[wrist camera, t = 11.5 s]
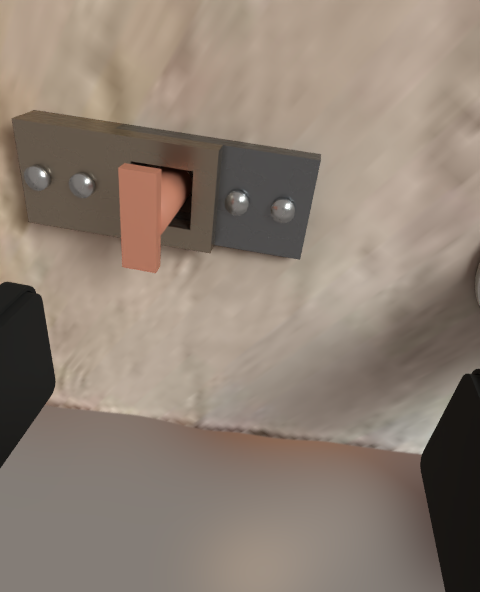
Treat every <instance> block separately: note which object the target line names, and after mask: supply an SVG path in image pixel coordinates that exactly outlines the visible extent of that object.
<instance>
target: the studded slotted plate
mask: <svg viewBox="0 0 480 592" xmlns="http://www.w3.org/2000/svg"><path fill="white" fill-rule="evenodd" d="M12 123H13V129H14V135H15V141H16V147H17V153H18V159H19V165H20V172H21V178H22V184H23V190H24V196H25V202H26V208H27V214H28V220H29V222H33V223H38V224H44V225H50V226H56V227H61V228H67V229H73V230H79V231H84V232H90V233H96V234H102V235H107V236H113V237H119V238H121V222H120V198H119V174H118V168H119V167H120V166H121V165H123V164H124V163H127V164H133V165H139V166H145V164H151V165H158V166H164V167H170V168H176V169H182V170H189V171H193V187H192V206H191V213H185V212H179V211H178V212H177V214H176V215H175V216H174V218H173V219H172V221H171V222H170V223H169V225H168V226H167V228H166V229H165V230H164V232H163V233H162V234H161V245H165V246H171V247H177V248H182V249H188V250H194V251H200V252H205V253H211V251H212V249H213V247H214V245H218V246H224V247H230V248H235V249H241V250H247V251H253V252H259V253H264V254H270V255H276V256H282V257H288V258H294V259H299V260H300V257H301V252H302V247H303V243H304V238H305V233H306V228H307V223H308V218H309V214H310V209H311V204H312V199H313V194H314V190H315V185H316V180H317V175H318V170H319V166H320V161H321V154H315V153H308V152H302V151H295V150H289V149H282V148H276V147H270V146H263V145H257V144H250V143H244V142H237V141H231V140H224V139H218V138H211V137H205V136H198V135H192V134H185V133H179V132H172V131H166V130H159V129H153V128H147V127H140V126H134V125H127V124H121V123H114V122H108V121H101V120H95V119H88V118H82V117H75V116H69V115H62V114H56V113H49V112H43V111H36V110H33V111H31V112H28V113H25V114H23V115H20V116H17V117H14V118H12Z"/></svg>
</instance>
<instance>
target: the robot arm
mask: <svg viewBox="0 0 480 592" xmlns="http://www.w3.org/2000/svg"><path fill="white" fill-rule="evenodd" d="M475 293H476V298H477V302H478V304H479V306H480V263H479V266H478V269H477V273H476V276H475ZM54 388H55V374H54V368H53V362H52V356H51V350H50V343H49V337H48V331H47V325H46V319H45V313H44V307H43V301H42V297H41V296H40V295H39V294H36V291H35V289H34V288H33V287H31V286H28V285H23V284H17V283H12V282H4V283H2V284H0V468H1V466H2V465H3V464H4V462H5V461H6V459H7V458H8V457H9V455H10V454H11V452H12V451H13V449H14V448H15V447H16V445H17V444H18V442H19V441H20V439H21V438H22V437H23V435H24V434H25V432H26V431H27V429H28V428H29V427H30V425H31V424H32V422H33V421H34V419H35V418H36V417H37V415H38V414H39V412H40V411H41V409H42V408H43V407H44V405H45V404H46V402H47V401H48V399H49V398H50V397H51V395H52V393H53V391H54ZM420 467H421V474H422V478H423V483H424V489H425V493H426V498H427V503H428V508H429V513H430V518H431V523H432V528H433V533H434V537H435V542H436V548H437V552H438V557H439V562H440V567H441V572H442V577H443V581H444V587H445V592H480V369H476V370H474V371H473V372H472V374H465V375H464V376H463V377H462V379H461V381H460V382H459V384H458V386H457V388H456V390H455V392H454V394H453V396H452V398H451V400H450V402H449V403H448V405H447V407H446V409H445V411H444V413H443V415H442V417H441V419H440V421H439V423H438V424H437V426H436V428H435V430H434V432H433V434H432V436H431V438H430V440H429V442H428V444H427V446H426V447H425V449H424V451H423V453H422V457H421V463H420Z"/></svg>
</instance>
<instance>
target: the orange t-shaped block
mask: <svg viewBox="0 0 480 592" xmlns="http://www.w3.org/2000/svg"><path fill="white" fill-rule="evenodd" d="M118 174H119V198H120V222H121V245H122V267H125V268H131V269H136V270H142V271H147V272H153V273H156V272H157V271H158V269H159V267H160V251H161V234H162V233H163V232H164V230H165V229H166V228H167V226H168V225H169V223H170V222H171V221H172V219H173V218H174V216H175V215H176V214H177V212H178V211H179V209H180V208H181V207H182V205H183V204H184V202H185V201H186V200H187V198H188V197H189V195H190V194H191V192H192V187H193V185H192V179H191V177H190V175H189V173H188V172H187V171H186V170H182V169H176V168H170V167H164V166H160V167H159V168H152V167H146V166H139V165H133V164H127V163H124V164H123V165H121V166H120V167H119V168H118Z"/></svg>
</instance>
